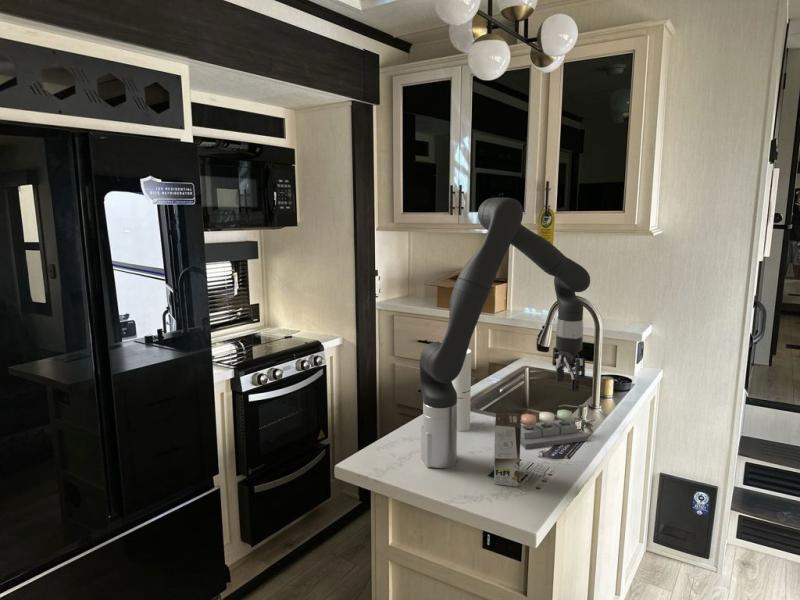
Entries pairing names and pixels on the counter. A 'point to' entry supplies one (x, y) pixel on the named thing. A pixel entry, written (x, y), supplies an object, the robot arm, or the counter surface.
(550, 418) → the cream button
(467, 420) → the cylindrical container
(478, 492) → the counter surface
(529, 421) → the terracotta button
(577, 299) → the robot arm
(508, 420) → the coffee box
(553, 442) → the console
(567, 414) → the sage button
